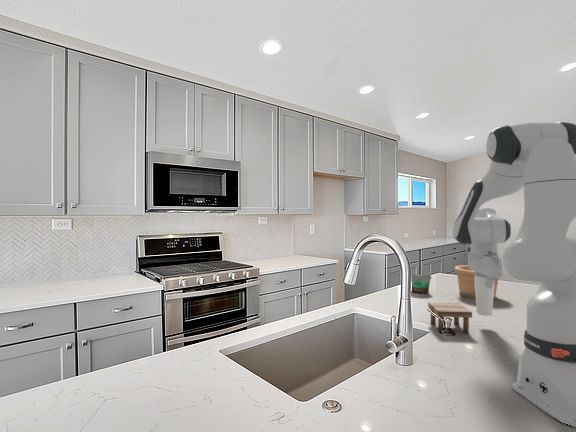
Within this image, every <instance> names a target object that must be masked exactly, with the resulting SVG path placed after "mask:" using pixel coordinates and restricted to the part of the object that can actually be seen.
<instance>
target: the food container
mask: <svg viewBox="0 0 576 432" xmlns="http://www.w3.org/2000/svg"><path fill="white" fill-rule="evenodd" d="M411 275H412V292H411V293H414V294H416V295H417V294H418V295H427V294H429V289H430V282H431V279H432V275H431V274H429V275H422V274H417V275H416V274H411Z"/></svg>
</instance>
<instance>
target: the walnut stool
mask: <svg viewBox="0 0 576 432" xmlns="http://www.w3.org/2000/svg"><path fill="white" fill-rule="evenodd" d="M427 305H428V306H427V307H428V308H429V309H430V312H431V311H432V312H433V313H435V314H436V316H437V317H440V318H441V319H444V318H453V324H454V325H460V318H463V319H462V321H463V323H462V325H463V327H462V330H463V331H462V333H464V334H468V333H470V331H469V330H470V329H469V328H470V327H469V325H470V322H469V320H470V319H471V318H473V311H471V310H470V309H468V308H467V307H466V306H464V305H463V304H461V303H459V302H432V301H431V302H430V301H429V302H428V304H427ZM437 317H435V316H433V315H432V314H431V313H430V324H432V325H435V324H436V318H437ZM444 320H445V319H444ZM437 322H438V324H437V325H438V327H437V329H438V332H439V331H441V330H443V329H444V328H445V327H444V326H445V325H444V322H445V321H444V322H443V321H441V320H440V319H437Z"/></svg>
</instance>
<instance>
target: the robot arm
mask: <svg viewBox="0 0 576 432" xmlns="http://www.w3.org/2000/svg"><path fill="white" fill-rule="evenodd" d="M485 147H486V153H487V157H488V158H489V159H490V160H491V161H490V164H489V168H488V170H487V172H486V173H485V174H484V176H483V177H481V178H480V180H477V181H475V182H474V184H473V186H472V187H471V189H470V191H469V193H468V195H467V197H466V200H465V202H464V205H463V206H462V209H461V211H460V213H459V215H458V217H457V219H456V220H455V221H454V223H453V227H452V234H453V235H452V236H453V239H455V240H456V241H457V242H458V243H460V244H461V245H468V246H467V247H466V252H467V265H468V266H469V269H470V270H473V271H475V275H481V274H483V275H486V276H487V279H488V280H487V283H486V287H488V288H492V287H493V282H494V280H495V278H499V279H501V278H502V276H503V266H504V268H505V270H506V272H507V273H508V275H510V276H511V277H512V278H513V279H516V280H520V281H523V282H528V283H535V284H540V285H539V287H538V289H537V291H536V292H535V293H534V294H533V295H532V296H531V297H529V298H528V301H527V304H526V329H525V330H524V335H523V345H524V346H525V348H524V350H523V352H522V353H521V355H520V356H519V359H518V367H517V377H516V381H515V382H513V383H512V385H511V389H512V390H514V391H515V392H516V393H518V394H519V395H520V396H522V397H523V398H525V399H526V400H528V401H529V402H531V403H532V404H534V406H536V405H537V406H536V407H538V408H539V409H540V410H542V411H543V412H545V413H546V414H547V413H548V414H547V415H549V416H550V415H551V416H550V417H551V418H553V417H554V418H553V419H555V418H556V419H557V420H559V421H560V422H562V423H561V424H563V423H565V424H564V425H566V424H568V425H567V426H569V425H571V426H570V427H572V426H573V428H576V237H574V236H573V237H571V236H570V237H569V236H568V237H567V233H568V230H569V228H570V226H571V223H572V221H574V220H575V219H576V124H575V123H572V122H565V121H564V122H563V121H558V122H525V123H519V124H513V125H508V124H506V125H502V126H499V127H495V128H493V129H492V130H491V132H490V133H489V134H488V137H487V139H486V146H485ZM522 188H523V195H524V196H523V197H524V199H523V200H524V202H523V203H524V204H523V205H524V206H523V207H524V213H523V219H522V223H521V225H520V228H519V231H518V233H517V235H516V237H515V238H514V239H513V240H512V241H511V243H509V244H508V245H507V246H506V247H505V249H504V251H503V256H502V260H501V258H500V257H499V256H498V245H499V244H504V243H506V242H507V241H508V240H509V239H510V238H511V235H512V234H511V233H512V232H511V231H512V230H511V228H512V227H511V223H509V221H508V220H506V219H505V218H503V217H500V216H498V215H497V211H496V210H495V209H493V208H481V206H483V205H484V204H485V203H488V202H489V201H492V200H495V199H498V198H502V197H506V196H510V195H512V194H515V193H517V192H519V191H520V190H521V189H522ZM502 263H503V266H502ZM556 419H555V420H556ZM557 420H556V421H557ZM559 421H558V422H559ZM560 422H559V423H560Z"/></svg>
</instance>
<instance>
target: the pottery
mask: <svg viewBox="0 0 576 432" xmlns="http://www.w3.org/2000/svg"><path fill="white" fill-rule="evenodd" d="M454 272H456V275H457V282H458V283H457V284H458V290H459V295H460V296H462V297H466V298H470V299H474V300H476V295H475V283H474V281H475V271H473V270H470V269H469V266H468V264H467V265H466V264H465V265H464V264H463V265H462V264H461V265H456V266H454ZM481 275H483V274H481ZM499 279H500V278H495V280H494V283H495V286H494V298H493V300H495V298H496V295H497V290H498V283H499Z"/></svg>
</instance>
